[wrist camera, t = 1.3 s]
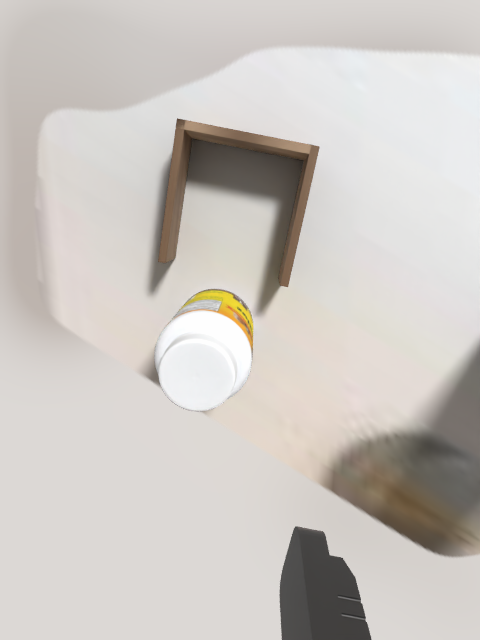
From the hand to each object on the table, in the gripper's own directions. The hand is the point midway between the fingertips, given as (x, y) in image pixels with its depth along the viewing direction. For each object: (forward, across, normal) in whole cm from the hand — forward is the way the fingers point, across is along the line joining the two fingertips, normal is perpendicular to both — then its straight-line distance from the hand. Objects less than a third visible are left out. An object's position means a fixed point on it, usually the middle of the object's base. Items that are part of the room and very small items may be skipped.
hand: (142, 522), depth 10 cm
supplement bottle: (+20, 0, 0) cm, 20 cm away
